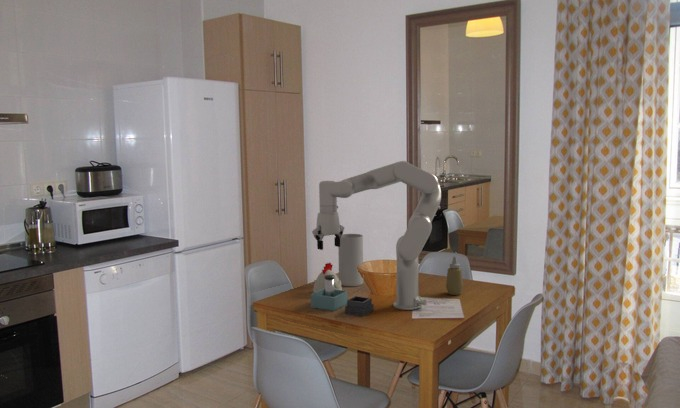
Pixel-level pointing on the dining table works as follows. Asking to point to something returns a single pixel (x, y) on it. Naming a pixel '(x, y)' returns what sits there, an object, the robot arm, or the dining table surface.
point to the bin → (329, 300)
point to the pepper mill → (329, 285)
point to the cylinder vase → (350, 259)
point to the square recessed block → (359, 306)
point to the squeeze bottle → (454, 278)
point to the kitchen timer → (320, 280)
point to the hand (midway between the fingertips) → (328, 247)
